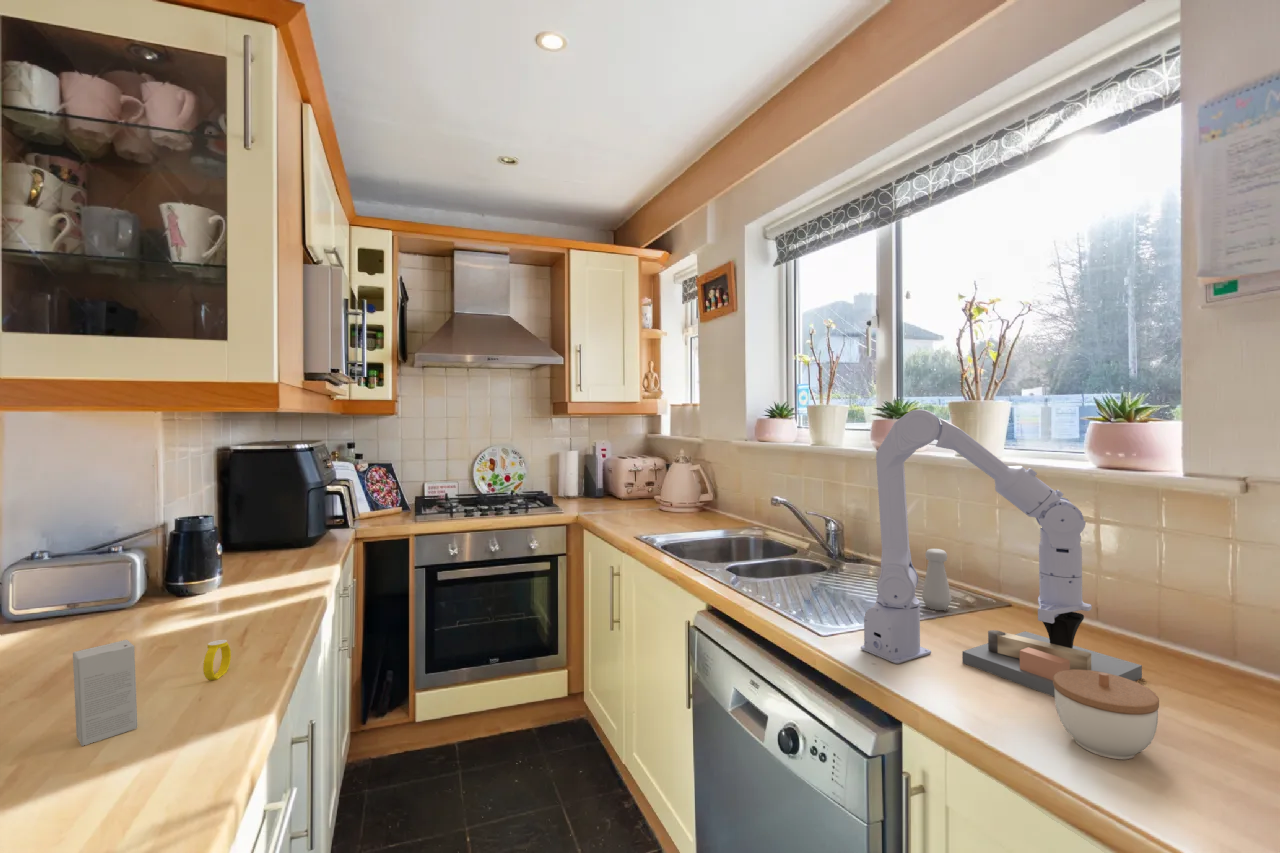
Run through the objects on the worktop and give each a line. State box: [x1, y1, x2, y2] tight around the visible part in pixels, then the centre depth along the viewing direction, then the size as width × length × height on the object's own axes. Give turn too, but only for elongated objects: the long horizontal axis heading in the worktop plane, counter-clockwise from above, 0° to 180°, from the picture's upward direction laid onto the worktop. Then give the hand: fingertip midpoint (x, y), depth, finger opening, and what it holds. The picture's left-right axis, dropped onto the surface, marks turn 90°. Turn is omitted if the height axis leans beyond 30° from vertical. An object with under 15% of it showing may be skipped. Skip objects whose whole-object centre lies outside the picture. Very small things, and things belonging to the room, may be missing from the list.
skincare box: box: [72, 639, 138, 747], centre depth 83 cm, size 6×4×12 cm
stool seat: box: [961, 631, 1143, 698], centre depth 99 cm, size 19×18×5 cm
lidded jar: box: [1053, 670, 1160, 761], centre depth 77 cm, size 11×11×9 cm
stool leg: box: [987, 629, 1091, 670], centre depth 98 cm, size 14×3×3 cm, turn 40°
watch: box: [202, 639, 232, 681], centre depth 102 cm, size 6×3×6 cm, turn 9°
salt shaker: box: [921, 548, 952, 611], centre depth 132 cm, size 6×6×13 cm
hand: (1061, 656), depth 97 cm, fingers closed, pressing on stool leg
